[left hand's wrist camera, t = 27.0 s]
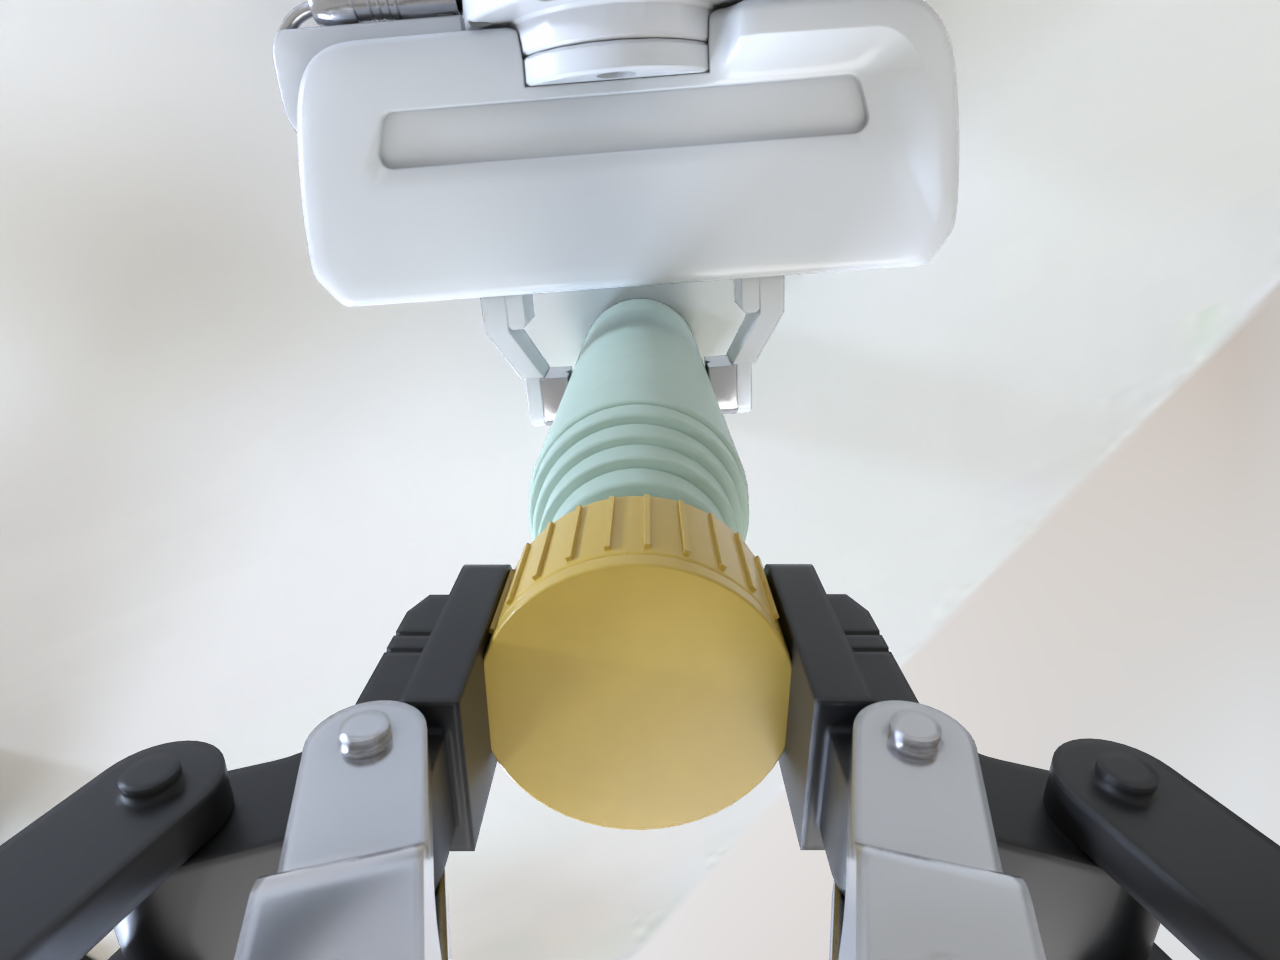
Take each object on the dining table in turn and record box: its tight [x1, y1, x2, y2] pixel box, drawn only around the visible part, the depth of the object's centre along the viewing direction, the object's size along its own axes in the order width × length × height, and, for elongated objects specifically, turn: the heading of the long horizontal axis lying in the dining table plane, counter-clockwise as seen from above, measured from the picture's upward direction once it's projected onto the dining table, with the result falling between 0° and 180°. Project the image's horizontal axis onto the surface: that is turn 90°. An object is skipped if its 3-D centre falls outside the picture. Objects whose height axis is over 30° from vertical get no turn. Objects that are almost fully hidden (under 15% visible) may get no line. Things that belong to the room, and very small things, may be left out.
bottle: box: [528, 299, 749, 542], centre depth 21 cm, size 5×5×23 cm
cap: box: [484, 494, 792, 830], centre depth 11 cm, size 4×4×2 cm
